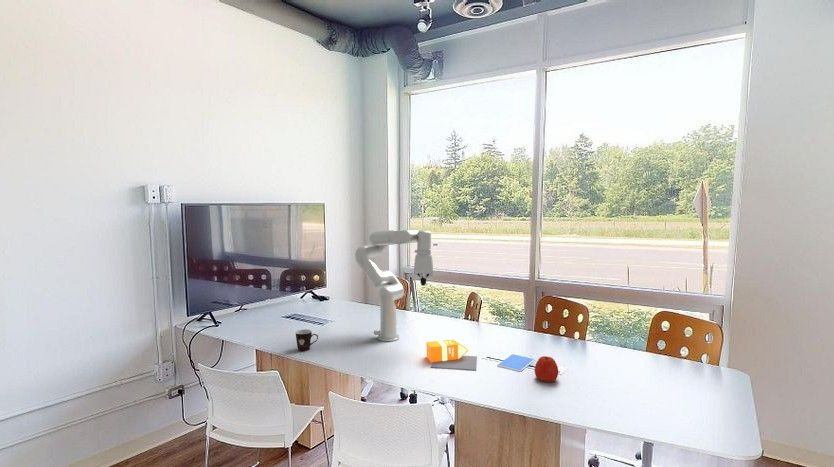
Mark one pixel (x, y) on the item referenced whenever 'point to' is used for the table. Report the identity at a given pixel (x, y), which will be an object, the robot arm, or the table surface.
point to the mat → (457, 363)
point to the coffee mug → (304, 339)
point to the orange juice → (444, 350)
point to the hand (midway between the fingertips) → (423, 285)
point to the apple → (546, 369)
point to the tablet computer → (516, 362)
